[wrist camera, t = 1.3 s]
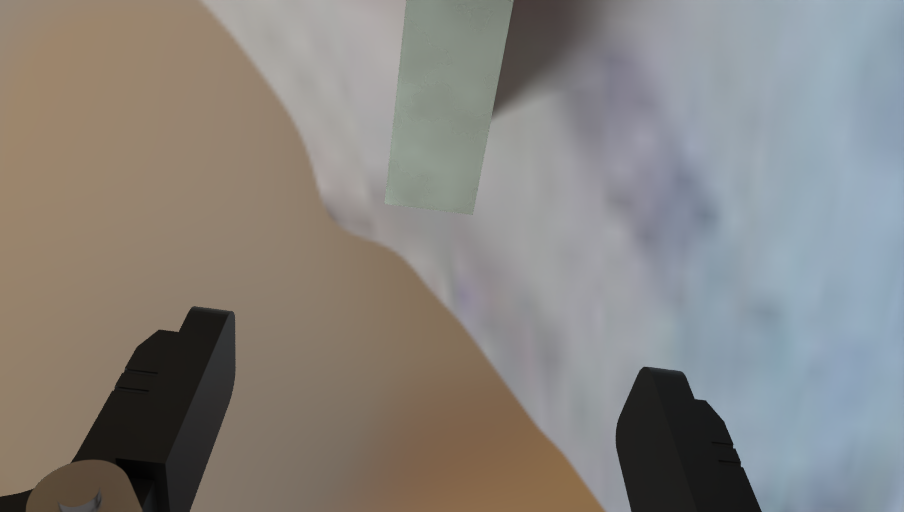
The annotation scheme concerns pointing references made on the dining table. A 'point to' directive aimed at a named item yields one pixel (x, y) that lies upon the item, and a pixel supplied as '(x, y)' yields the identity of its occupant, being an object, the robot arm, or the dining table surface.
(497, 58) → the grey-green rectangular block
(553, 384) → the dining table surface
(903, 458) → the dining table surface
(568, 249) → the dining table surface
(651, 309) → the dining table surface
